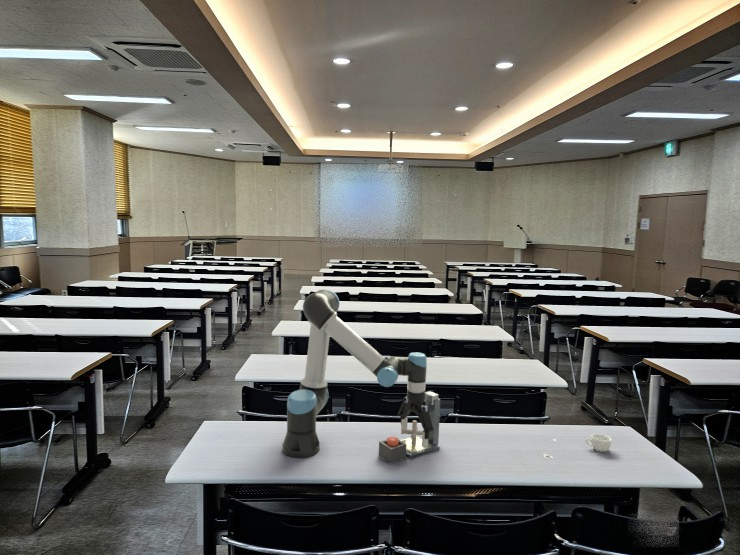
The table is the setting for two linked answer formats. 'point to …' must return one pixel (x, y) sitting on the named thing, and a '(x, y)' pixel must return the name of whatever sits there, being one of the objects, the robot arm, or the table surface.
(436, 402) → the press frame
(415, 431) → the pipe connector
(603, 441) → the teacup
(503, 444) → the table surface
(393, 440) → the press button
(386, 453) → the button housing
